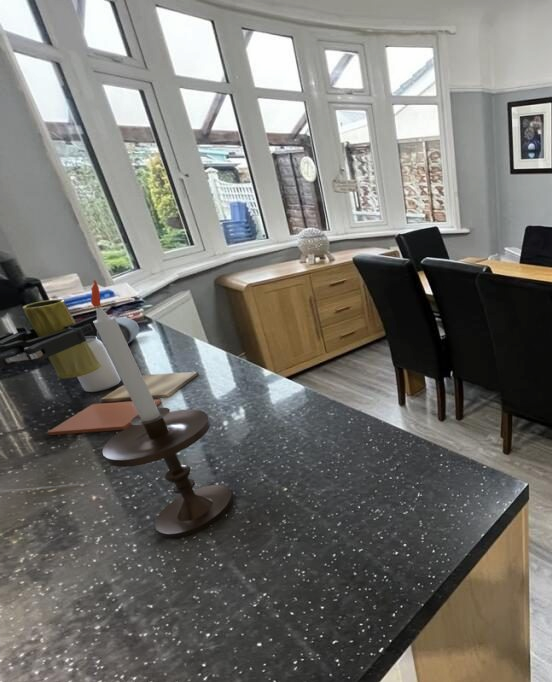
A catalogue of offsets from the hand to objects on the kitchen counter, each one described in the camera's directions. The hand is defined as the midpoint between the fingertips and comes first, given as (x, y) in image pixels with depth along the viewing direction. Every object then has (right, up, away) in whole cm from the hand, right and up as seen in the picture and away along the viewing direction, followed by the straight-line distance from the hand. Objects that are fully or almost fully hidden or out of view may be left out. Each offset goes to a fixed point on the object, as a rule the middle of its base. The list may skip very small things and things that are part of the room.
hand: (83, 322), depth 79 cm
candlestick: (+40, -29, -21) cm, 54 cm away
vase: (+1, -10, -1) cm, 10 cm away
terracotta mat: (+3, -20, +2) cm, 20 cm away
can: (-12, -15, +15) cm, 24 cm away
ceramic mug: (-32, -5, +39) cm, 51 cm away
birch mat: (+1, -15, +14) cm, 20 cm away
